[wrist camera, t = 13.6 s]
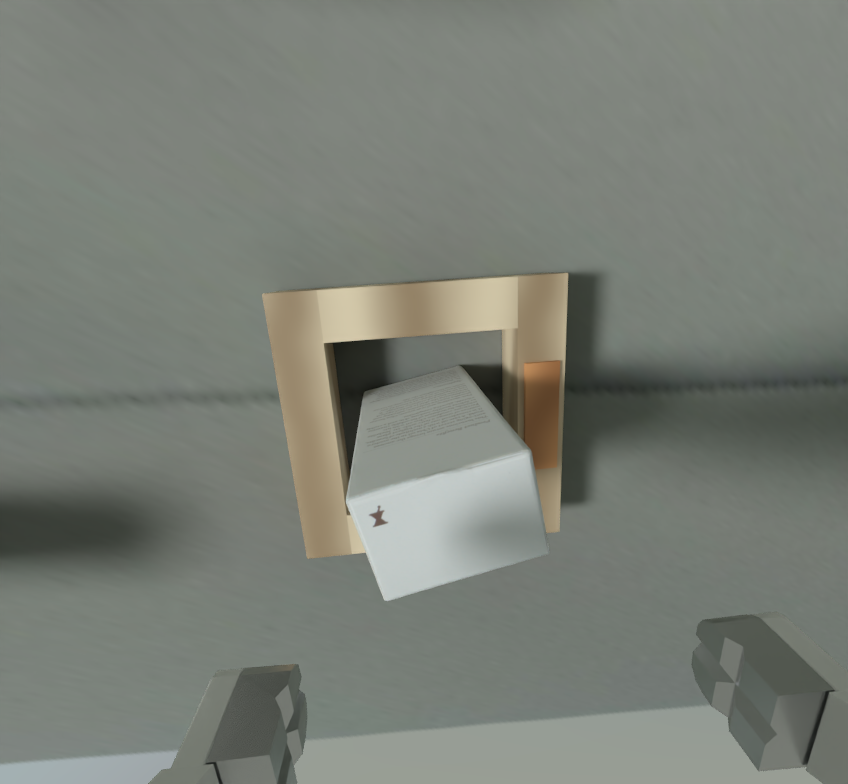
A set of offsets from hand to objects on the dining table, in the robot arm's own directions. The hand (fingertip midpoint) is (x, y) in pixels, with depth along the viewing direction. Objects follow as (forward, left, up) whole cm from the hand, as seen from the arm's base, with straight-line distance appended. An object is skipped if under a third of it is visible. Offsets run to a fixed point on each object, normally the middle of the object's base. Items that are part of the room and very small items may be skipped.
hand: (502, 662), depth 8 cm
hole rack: (0, 0, -17) cm, 17 cm away
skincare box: (0, 0, -17) cm, 17 cm away
